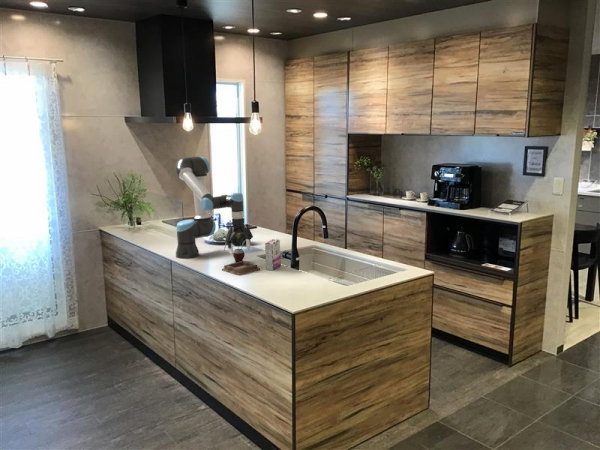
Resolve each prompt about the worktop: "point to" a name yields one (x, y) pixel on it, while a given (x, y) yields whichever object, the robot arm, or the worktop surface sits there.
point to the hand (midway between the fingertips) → (239, 251)
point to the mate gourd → (239, 254)
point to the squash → (239, 238)
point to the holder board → (240, 268)
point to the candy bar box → (272, 254)
